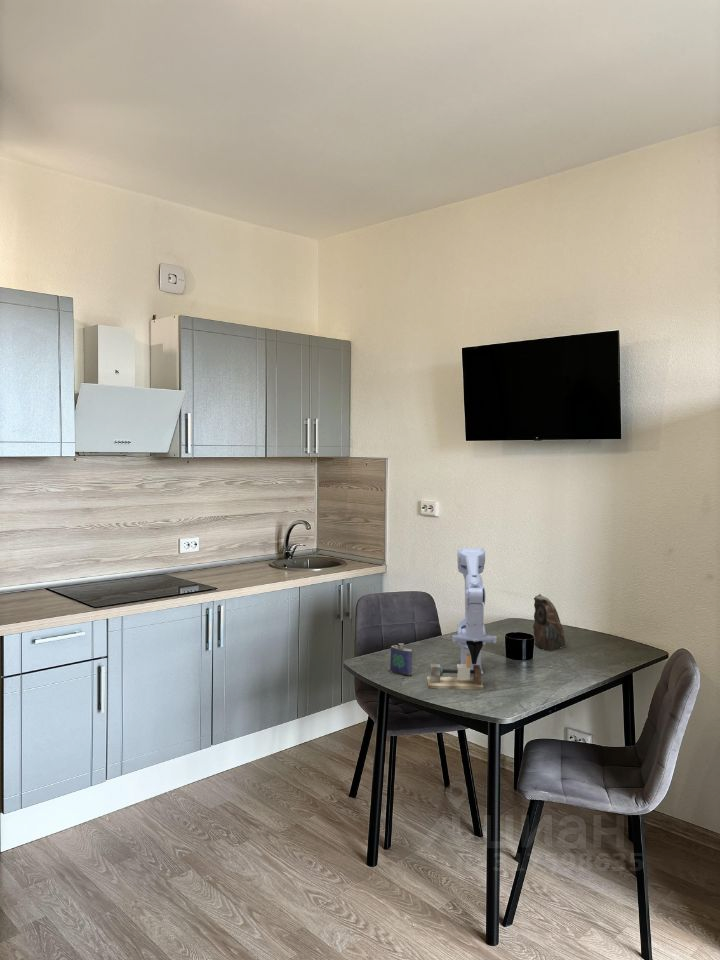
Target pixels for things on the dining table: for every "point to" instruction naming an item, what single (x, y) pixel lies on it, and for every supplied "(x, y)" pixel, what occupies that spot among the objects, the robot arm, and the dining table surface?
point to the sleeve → (464, 669)
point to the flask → (401, 660)
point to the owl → (547, 625)
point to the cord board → (454, 679)
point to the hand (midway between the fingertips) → (473, 663)
